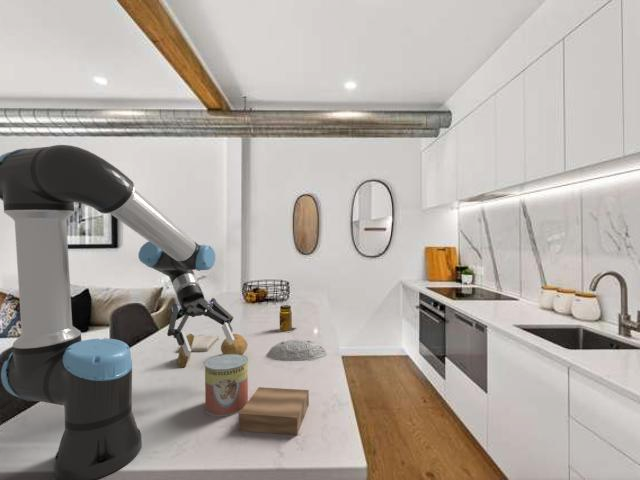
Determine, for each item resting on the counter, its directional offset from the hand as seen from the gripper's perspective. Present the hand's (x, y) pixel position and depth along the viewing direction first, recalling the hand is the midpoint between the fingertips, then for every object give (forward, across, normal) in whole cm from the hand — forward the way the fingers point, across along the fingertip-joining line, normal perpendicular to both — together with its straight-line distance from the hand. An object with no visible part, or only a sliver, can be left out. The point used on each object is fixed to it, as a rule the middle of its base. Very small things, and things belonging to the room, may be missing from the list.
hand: (211, 347), depth 98 cm
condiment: (-16, -59, -36) cm, 71 cm away
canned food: (+16, +1, -3) cm, 17 cm away
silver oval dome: (+5, -39, -15) cm, 42 cm away
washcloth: (-22, -19, -43) cm, 52 cm away
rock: (-12, -5, -32) cm, 34 cm away
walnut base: (+26, -5, +8) cm, 28 cm away
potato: (-5, -20, -25) cm, 32 cm away
